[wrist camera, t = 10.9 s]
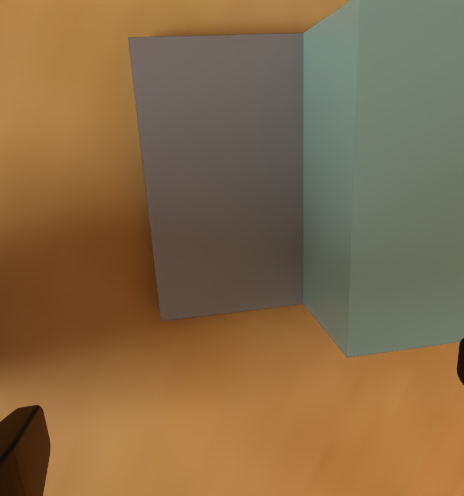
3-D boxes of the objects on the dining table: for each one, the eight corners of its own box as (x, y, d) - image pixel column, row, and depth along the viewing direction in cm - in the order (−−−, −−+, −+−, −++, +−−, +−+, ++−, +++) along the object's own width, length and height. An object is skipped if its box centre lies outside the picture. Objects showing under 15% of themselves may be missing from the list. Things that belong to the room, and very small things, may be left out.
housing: (303, 303, 20) (347, 357, 15) (303, 32, 17) (359, -6, 12) (416, 290, 21) (490, 337, 16) (438, 30, 18) (541, -7, 13)
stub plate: (160, 310, 20) (160, 355, 16) (130, 43, 17) (120, 17, 13) (519, 268, 23) (594, 296, 19) (556, 32, 20) (656, 7, 16)
